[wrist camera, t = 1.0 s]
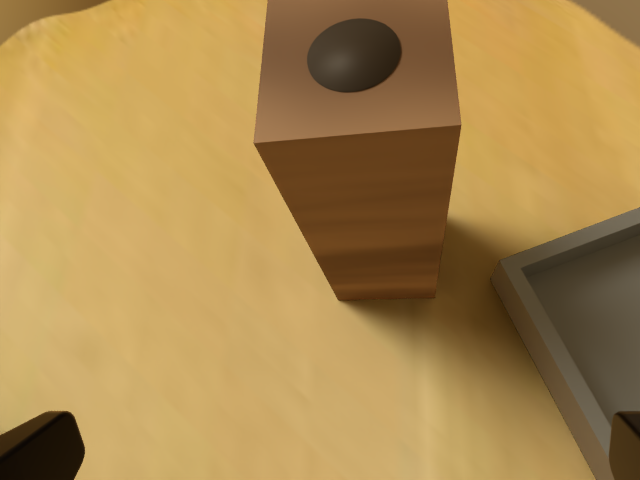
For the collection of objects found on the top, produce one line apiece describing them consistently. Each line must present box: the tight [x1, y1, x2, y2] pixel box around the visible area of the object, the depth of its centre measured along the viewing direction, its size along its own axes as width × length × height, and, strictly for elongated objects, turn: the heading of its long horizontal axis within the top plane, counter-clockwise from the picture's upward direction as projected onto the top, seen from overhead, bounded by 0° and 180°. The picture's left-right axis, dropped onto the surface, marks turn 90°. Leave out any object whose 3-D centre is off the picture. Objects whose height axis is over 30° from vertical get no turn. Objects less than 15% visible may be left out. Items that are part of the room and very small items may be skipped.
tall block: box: [254, 0, 461, 300], centre depth 17 cm, size 4×4×13 cm
